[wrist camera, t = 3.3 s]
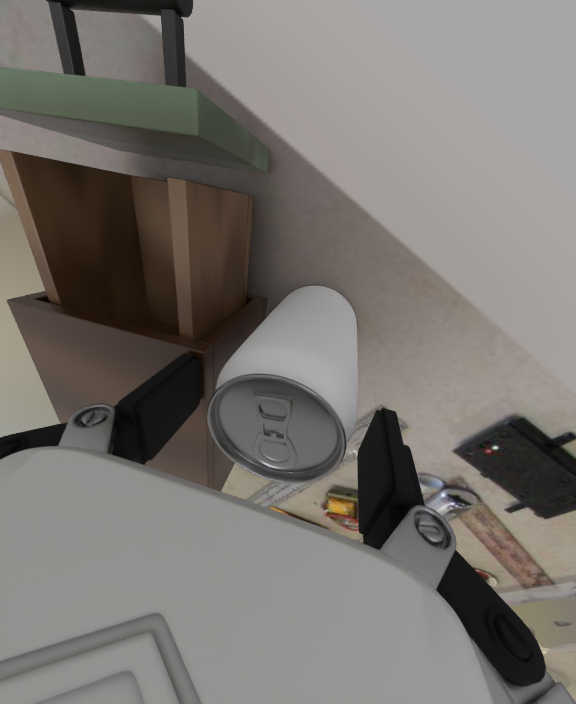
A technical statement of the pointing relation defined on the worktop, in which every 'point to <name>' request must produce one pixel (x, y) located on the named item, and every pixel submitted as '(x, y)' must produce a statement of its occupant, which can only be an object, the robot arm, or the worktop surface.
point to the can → (291, 390)
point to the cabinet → (132, 371)
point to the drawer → (132, 187)
